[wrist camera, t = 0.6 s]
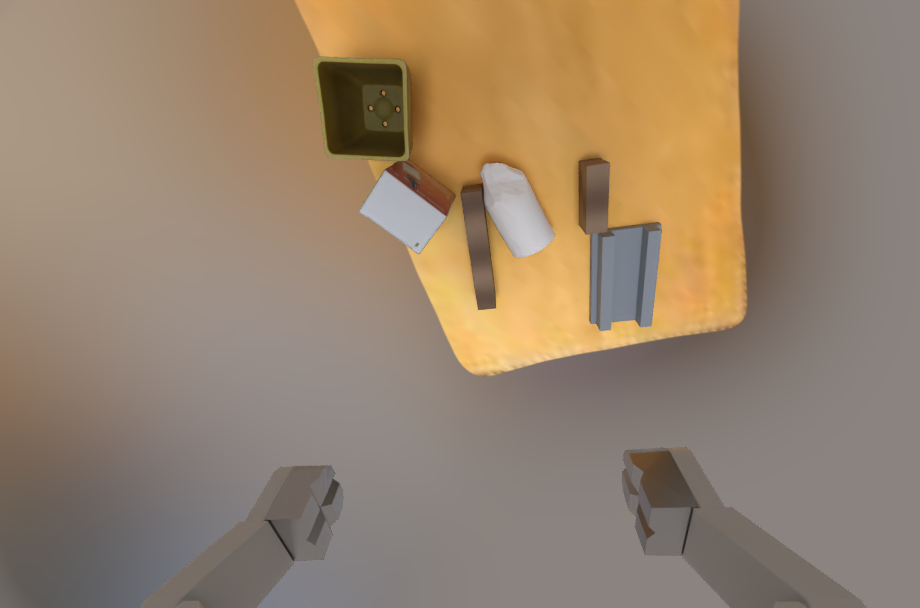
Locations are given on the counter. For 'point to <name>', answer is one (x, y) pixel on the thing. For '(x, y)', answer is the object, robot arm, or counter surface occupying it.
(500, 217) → the roll
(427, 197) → the small box
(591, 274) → the cradle
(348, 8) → the counter surface
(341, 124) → the flower pot
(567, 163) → the counter surface
